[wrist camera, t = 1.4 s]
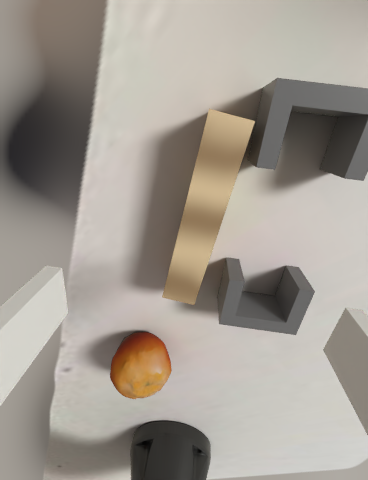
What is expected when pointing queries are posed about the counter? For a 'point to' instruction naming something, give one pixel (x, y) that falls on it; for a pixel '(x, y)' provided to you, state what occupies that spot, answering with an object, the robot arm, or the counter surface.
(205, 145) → the oak slat
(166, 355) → the fruit
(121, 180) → the counter surface
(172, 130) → the counter surface
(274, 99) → the end caps
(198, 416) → the counter surface
